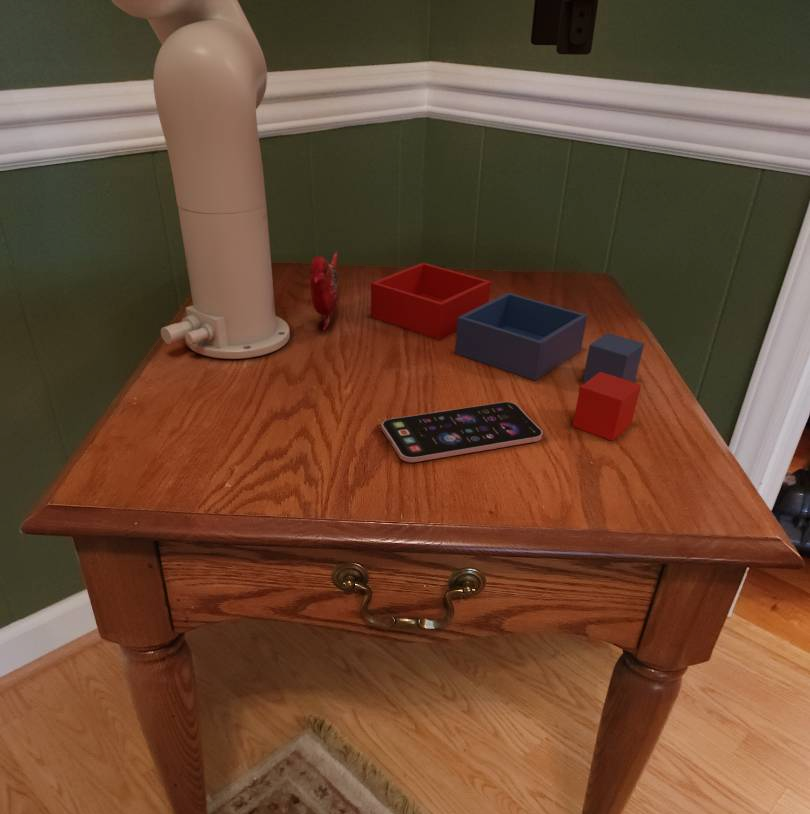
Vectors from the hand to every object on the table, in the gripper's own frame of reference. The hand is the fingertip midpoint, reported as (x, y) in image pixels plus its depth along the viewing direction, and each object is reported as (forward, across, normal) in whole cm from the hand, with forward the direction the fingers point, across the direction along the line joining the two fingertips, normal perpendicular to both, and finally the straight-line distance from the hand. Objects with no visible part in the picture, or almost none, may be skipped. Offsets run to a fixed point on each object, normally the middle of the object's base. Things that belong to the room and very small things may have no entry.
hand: (558, 49), depth 71 cm
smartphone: (+31, +21, -11) cm, 39 cm away
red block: (+31, +20, +3) cm, 37 cm away
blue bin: (+31, +2, -1) cm, 31 cm away
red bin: (+30, -10, -10) cm, 34 cm away
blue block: (+31, +10, +8) cm, 33 cm away
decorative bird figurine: (+30, -9, -24) cm, 40 cm away
